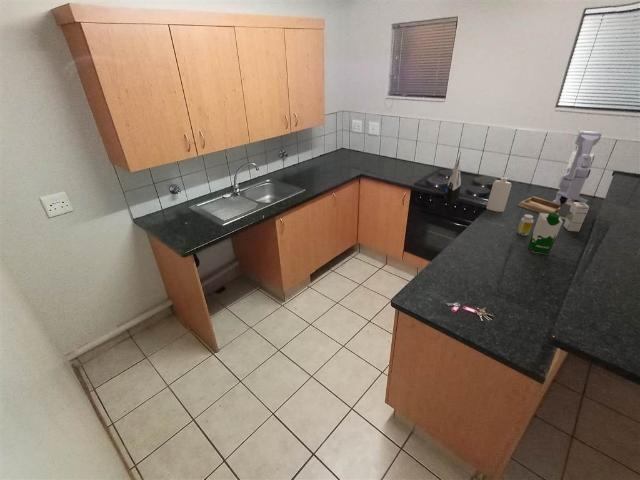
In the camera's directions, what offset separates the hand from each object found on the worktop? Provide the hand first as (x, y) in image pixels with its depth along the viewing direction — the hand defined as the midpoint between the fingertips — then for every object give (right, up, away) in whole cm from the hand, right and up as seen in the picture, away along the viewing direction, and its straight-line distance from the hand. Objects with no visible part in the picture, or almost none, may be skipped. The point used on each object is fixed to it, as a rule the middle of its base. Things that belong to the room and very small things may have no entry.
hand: (565, 210), depth 184 cm
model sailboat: (-56, +11, +27) cm, 63 cm away
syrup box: (-7, -11, -12) cm, 18 cm away
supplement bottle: (-35, -14, -16) cm, 41 cm away
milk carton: (-37, -22, -30) cm, 53 cm away
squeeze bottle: (-36, +1, +10) cm, 37 cm away
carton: (-7, +3, +11) cm, 13 cm away
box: (0, -2, +1) cm, 2 cm away
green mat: (0, -3, +2) cm, 3 cm away
